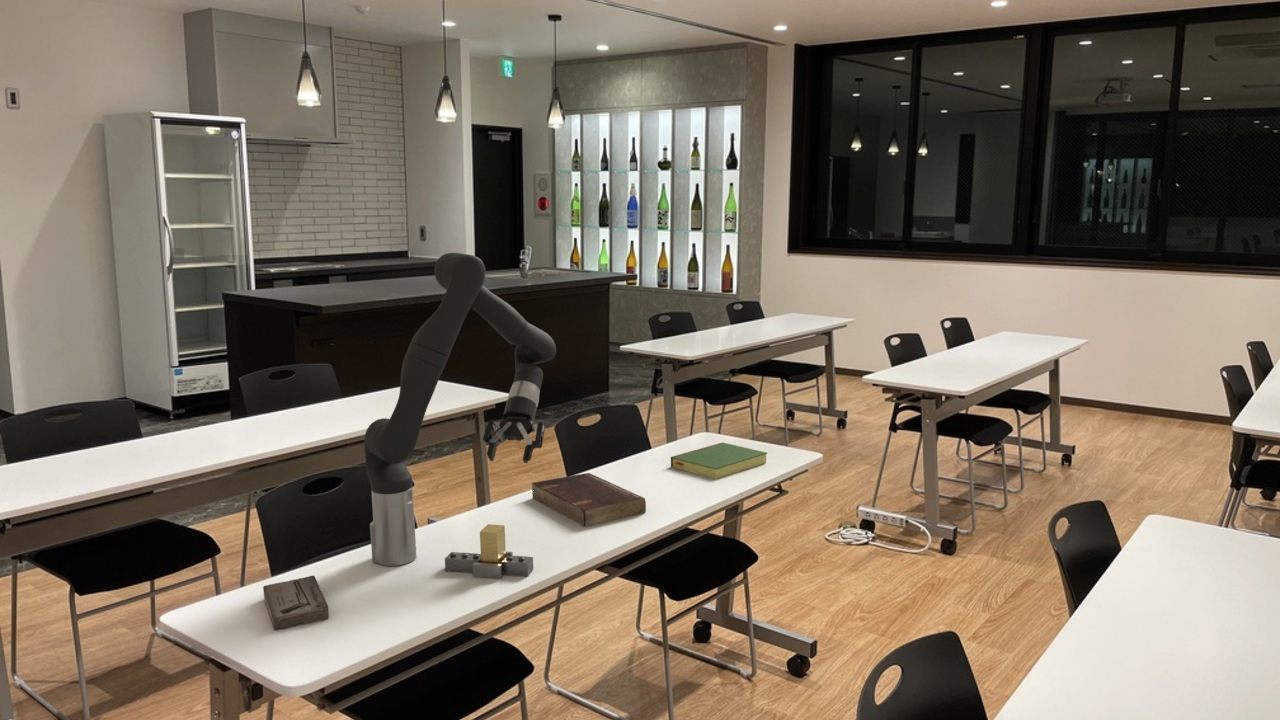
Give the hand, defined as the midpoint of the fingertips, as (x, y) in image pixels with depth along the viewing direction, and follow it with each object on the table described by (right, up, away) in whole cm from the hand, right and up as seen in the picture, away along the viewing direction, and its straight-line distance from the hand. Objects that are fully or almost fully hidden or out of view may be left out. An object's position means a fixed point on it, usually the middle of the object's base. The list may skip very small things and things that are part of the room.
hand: (507, 460), depth 222 cm
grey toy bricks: (-2, -24, -10) cm, 26 cm away
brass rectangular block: (-2, -24, -10) cm, 26 cm away
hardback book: (+17, -17, +34) cm, 42 cm away
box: (-40, -28, -29) cm, 57 cm away
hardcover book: (+56, -10, +71) cm, 91 cm away
